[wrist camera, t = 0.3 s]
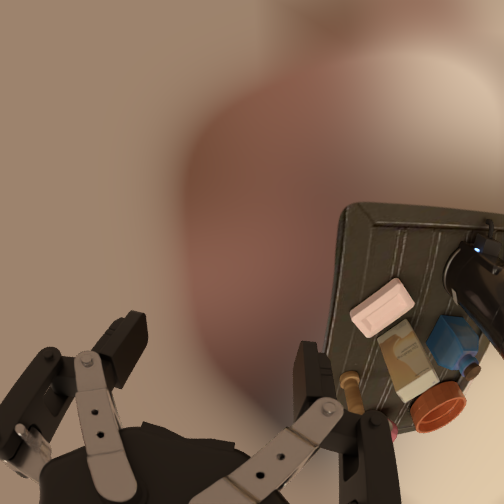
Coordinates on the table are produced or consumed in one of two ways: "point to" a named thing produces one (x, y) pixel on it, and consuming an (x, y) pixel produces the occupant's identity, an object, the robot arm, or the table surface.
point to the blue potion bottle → (455, 346)
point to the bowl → (437, 406)
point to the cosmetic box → (407, 361)
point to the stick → (352, 391)
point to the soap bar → (382, 308)
